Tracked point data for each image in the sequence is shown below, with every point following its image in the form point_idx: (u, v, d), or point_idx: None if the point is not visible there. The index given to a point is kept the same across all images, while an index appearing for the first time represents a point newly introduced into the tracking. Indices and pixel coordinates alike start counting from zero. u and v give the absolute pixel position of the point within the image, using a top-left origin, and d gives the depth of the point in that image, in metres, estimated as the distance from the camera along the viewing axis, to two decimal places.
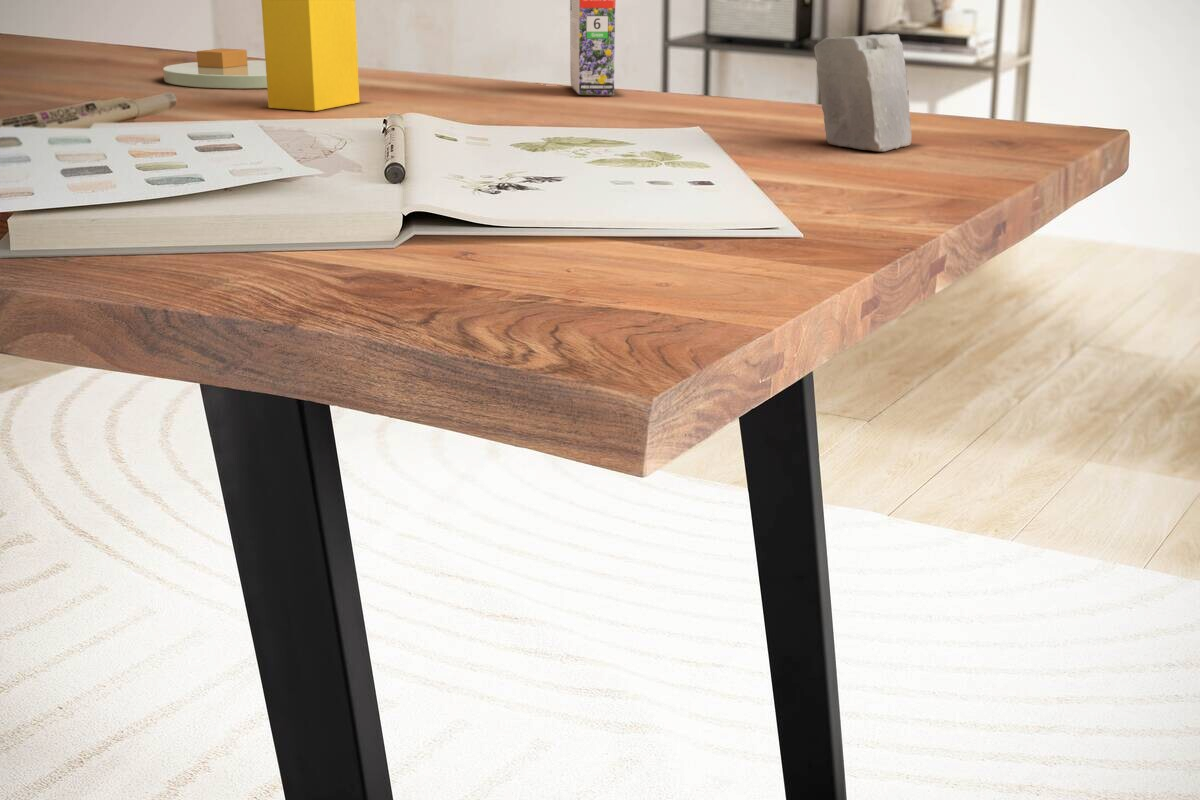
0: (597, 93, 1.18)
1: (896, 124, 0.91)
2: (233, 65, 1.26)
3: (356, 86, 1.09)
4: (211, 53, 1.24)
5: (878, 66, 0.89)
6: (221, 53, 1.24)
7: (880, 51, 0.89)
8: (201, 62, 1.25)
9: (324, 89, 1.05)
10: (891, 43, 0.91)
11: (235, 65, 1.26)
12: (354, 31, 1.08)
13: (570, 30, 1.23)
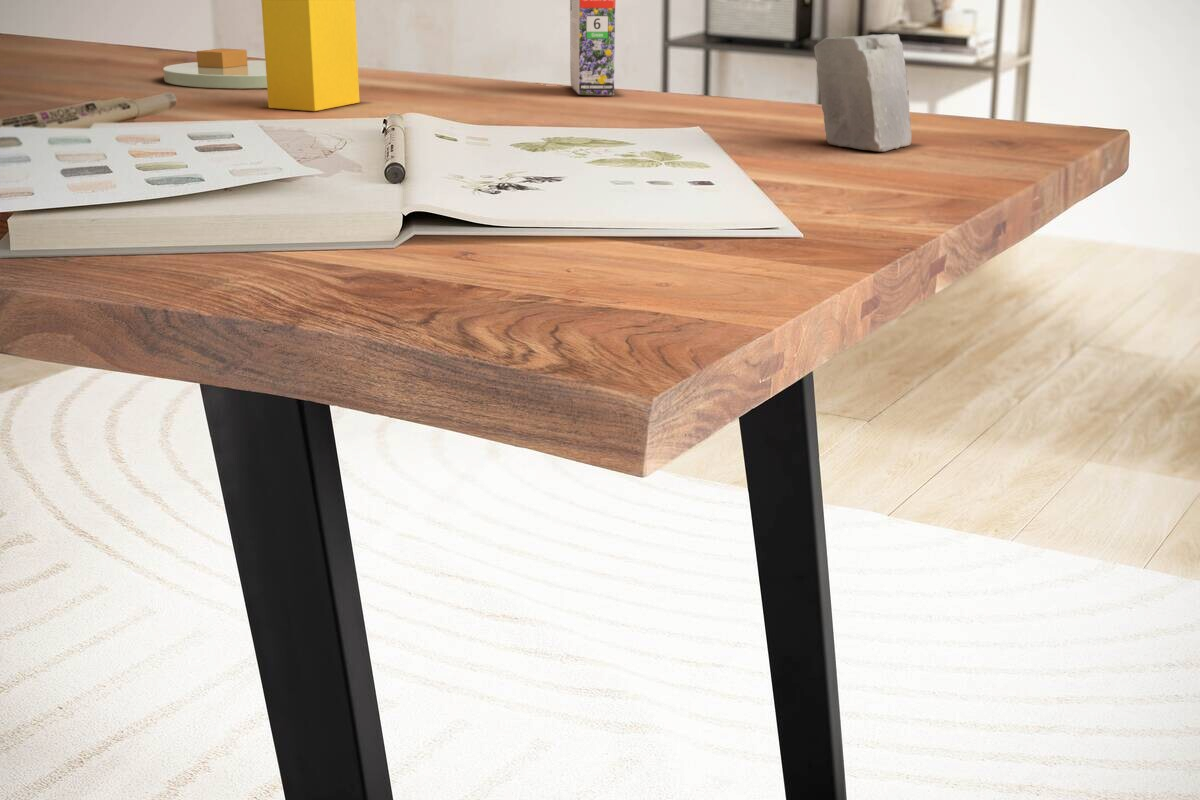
0: (597, 93, 1.18)
1: (896, 124, 0.91)
2: (233, 65, 1.26)
3: (356, 86, 1.09)
4: (211, 53, 1.24)
5: (878, 66, 0.89)
6: (221, 53, 1.24)
7: (880, 51, 0.89)
8: (201, 62, 1.25)
9: (324, 89, 1.05)
10: (891, 43, 0.91)
11: (235, 65, 1.26)
12: (354, 31, 1.08)
13: (570, 30, 1.23)
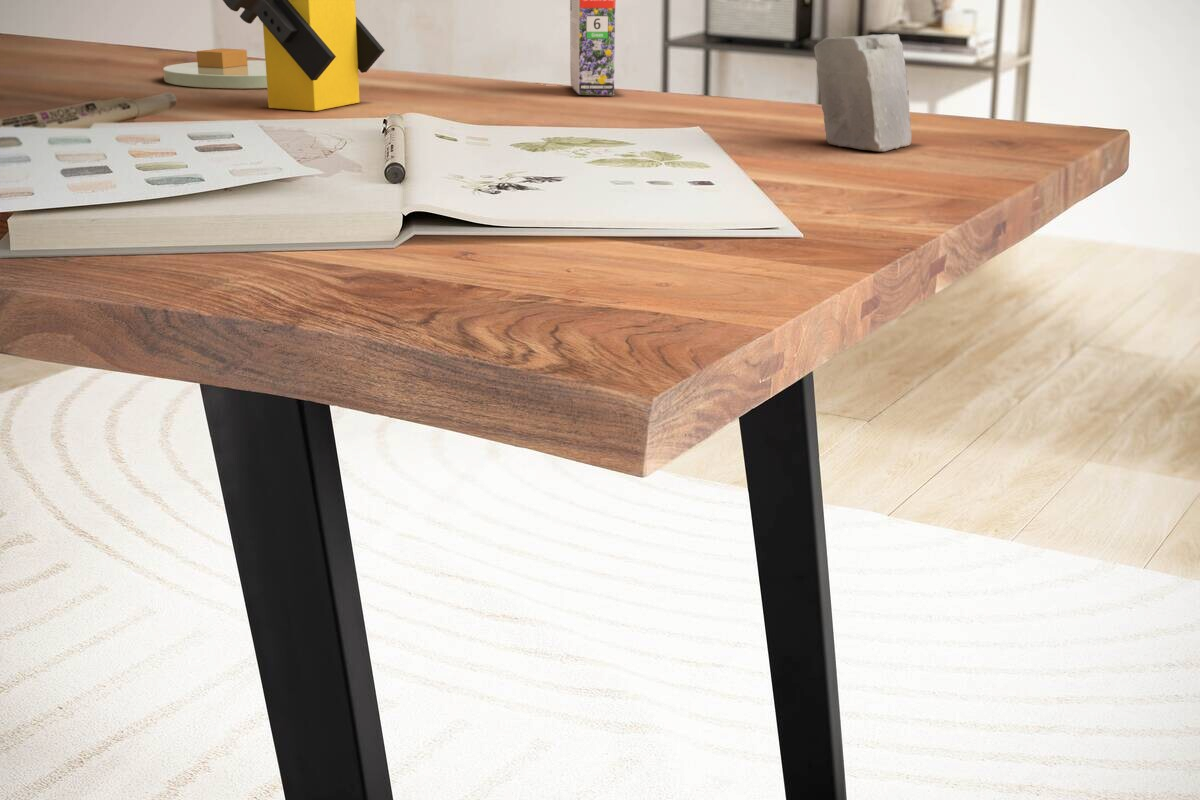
0: (597, 93, 1.18)
1: (896, 124, 0.91)
2: (233, 65, 1.26)
3: (356, 86, 1.09)
4: (211, 53, 1.24)
5: (878, 66, 0.89)
6: (221, 53, 1.24)
7: (880, 51, 0.89)
8: (201, 62, 1.25)
9: (324, 89, 1.05)
10: (891, 43, 0.91)
11: (235, 65, 1.26)
12: (354, 31, 1.08)
13: (570, 30, 1.23)
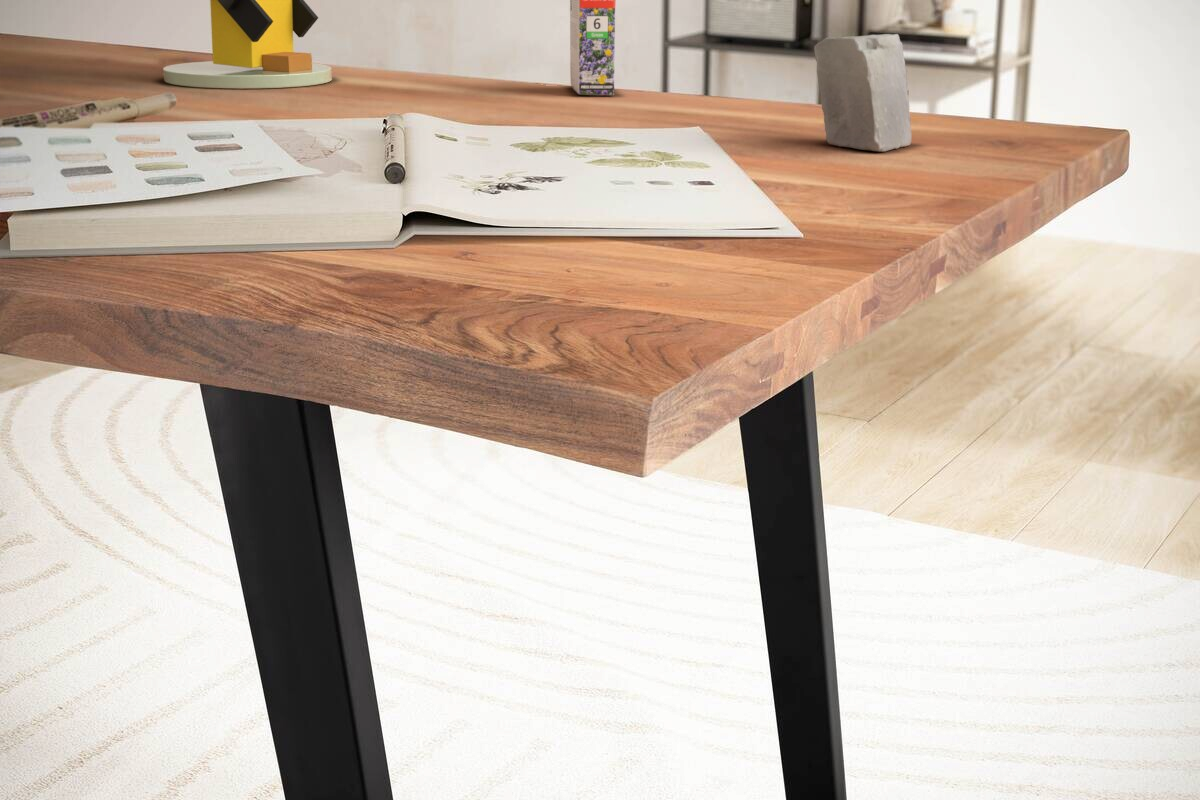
0: (597, 93, 1.18)
1: (896, 124, 0.91)
2: (299, 69, 1.23)
3: (291, 48, 1.27)
4: (277, 57, 1.22)
5: (878, 66, 0.89)
6: (287, 57, 1.21)
7: (880, 51, 0.89)
8: (266, 66, 1.23)
9: (261, 50, 1.22)
10: (891, 43, 0.91)
11: (300, 69, 1.24)
12: (290, 1, 1.25)
13: (570, 30, 1.23)
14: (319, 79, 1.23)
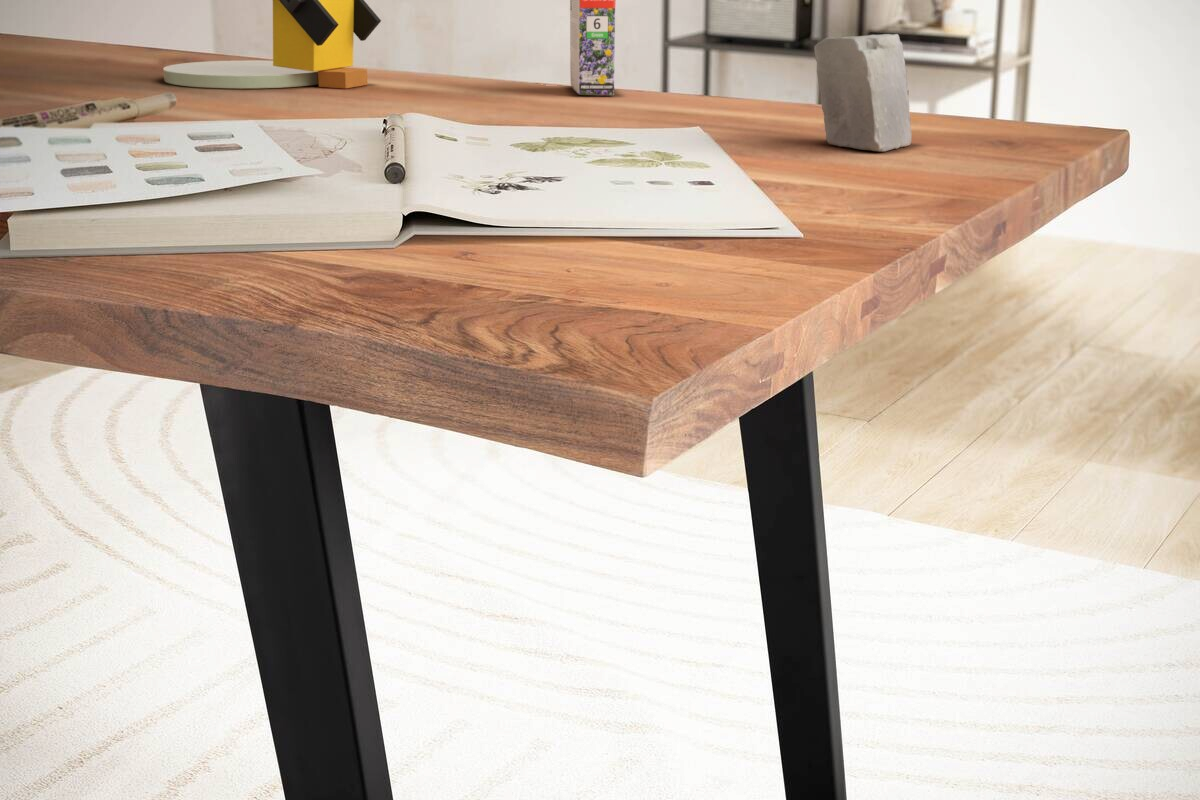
0: (597, 93, 1.18)
1: (896, 124, 0.91)
2: (355, 85, 1.22)
3: (351, 52, 1.24)
4: (333, 73, 1.20)
5: (878, 66, 0.89)
6: (344, 73, 1.20)
7: (880, 51, 0.89)
8: (322, 82, 1.21)
9: (323, 53, 1.20)
10: (891, 43, 0.91)
11: (356, 85, 1.22)
12: (352, 3, 1.23)
13: (570, 30, 1.23)
14: None
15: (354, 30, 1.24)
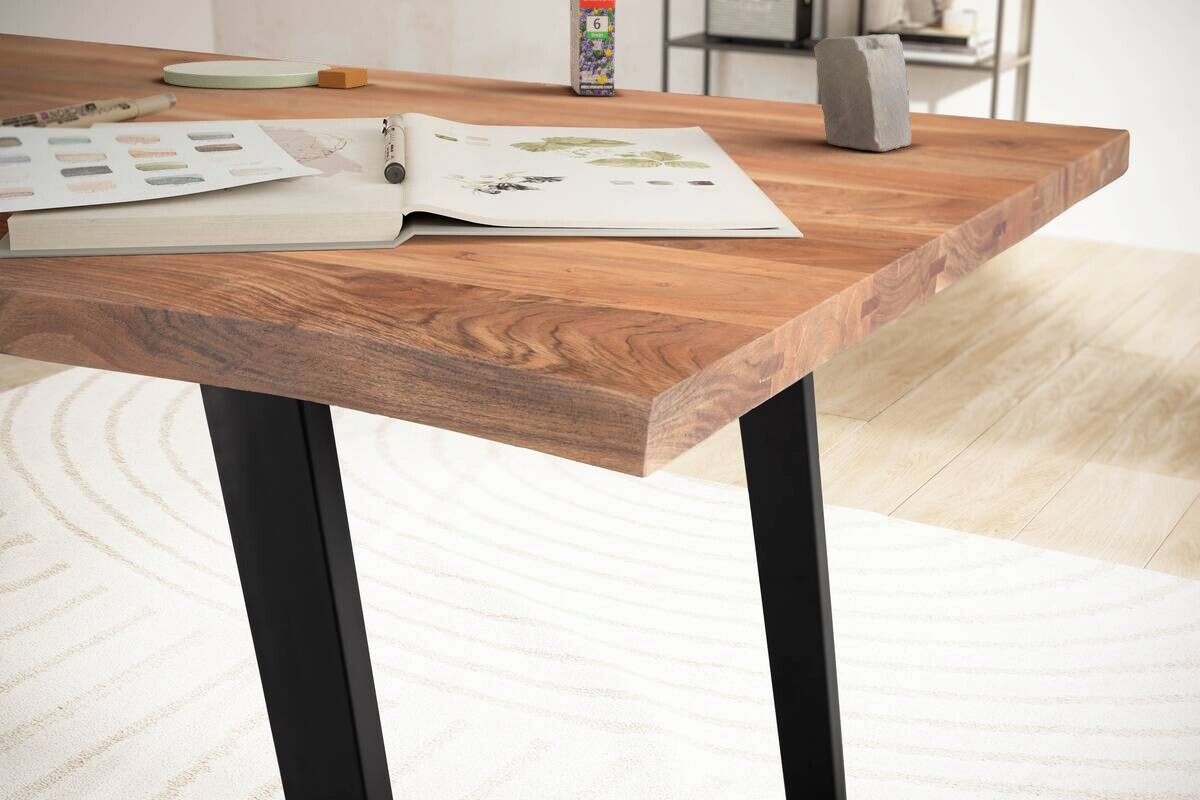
0: (597, 93, 1.18)
1: (896, 124, 0.91)
2: (355, 85, 1.22)
3: None
4: (333, 73, 1.20)
5: (878, 66, 0.89)
6: (344, 73, 1.20)
7: (880, 51, 0.89)
8: (322, 82, 1.21)
9: None
10: (891, 43, 0.91)
11: (356, 85, 1.22)
12: None
13: (570, 30, 1.23)
14: None
15: None
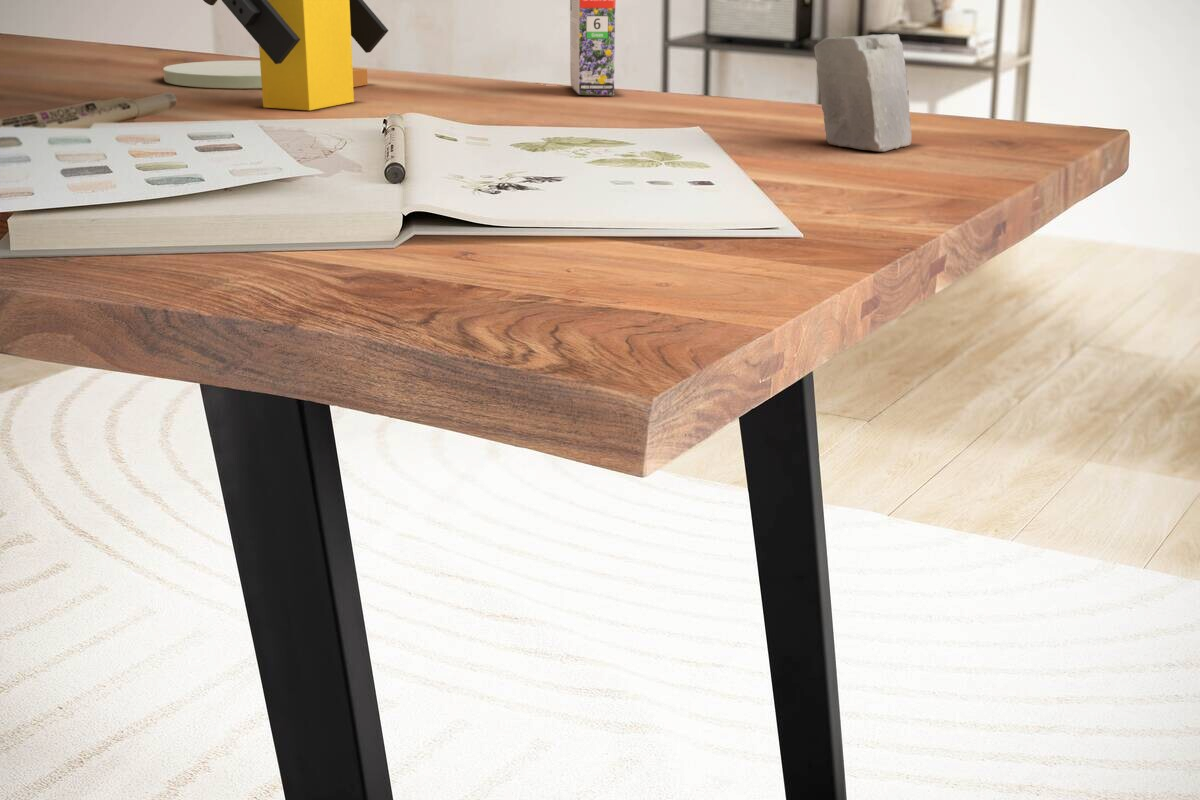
0: (597, 93, 1.18)
1: (896, 124, 0.91)
2: (355, 85, 1.22)
3: (351, 86, 1.10)
4: None
5: (878, 66, 0.89)
6: None
7: (880, 51, 0.89)
8: None
9: (319, 89, 1.05)
10: (891, 43, 0.91)
11: (356, 85, 1.22)
12: (349, 31, 1.08)
13: (570, 30, 1.23)
14: None
15: (358, 41, 1.12)
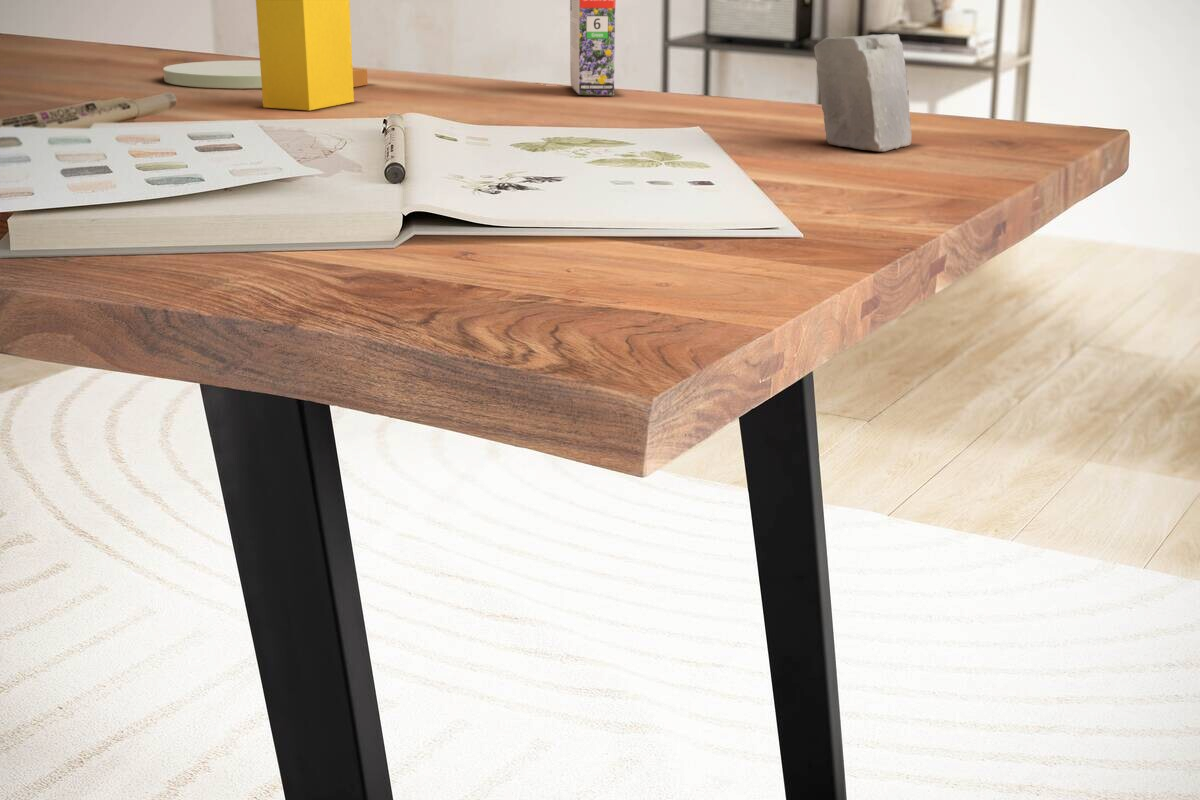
0: (597, 93, 1.18)
1: (896, 124, 0.91)
2: (355, 85, 1.22)
3: (351, 86, 1.10)
4: None
5: (878, 66, 0.89)
6: None
7: (880, 51, 0.89)
8: None
9: (319, 89, 1.05)
10: (891, 43, 0.91)
11: (356, 85, 1.22)
12: (349, 31, 1.08)
13: (570, 30, 1.23)
14: None
15: None
